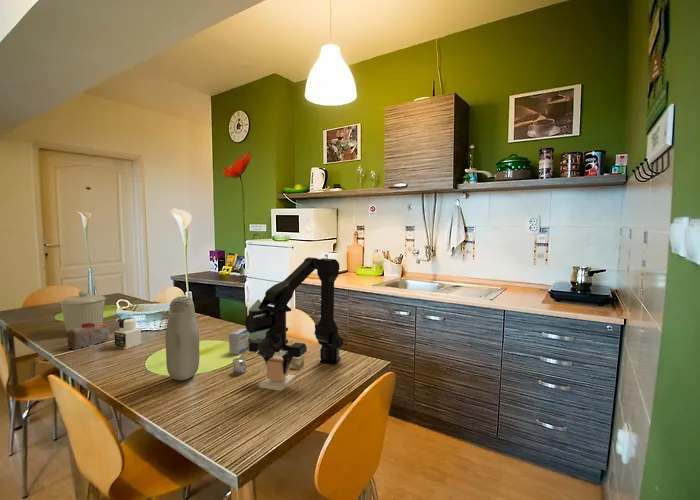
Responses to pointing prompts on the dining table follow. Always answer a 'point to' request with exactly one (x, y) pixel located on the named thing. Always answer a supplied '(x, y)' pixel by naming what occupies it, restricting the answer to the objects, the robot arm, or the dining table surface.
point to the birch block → (297, 362)
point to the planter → (261, 333)
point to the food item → (87, 335)
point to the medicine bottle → (127, 334)
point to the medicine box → (238, 341)
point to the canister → (82, 310)
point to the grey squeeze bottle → (182, 339)
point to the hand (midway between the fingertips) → (277, 372)
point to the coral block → (275, 368)
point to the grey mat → (277, 383)
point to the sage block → (279, 353)
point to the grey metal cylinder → (239, 366)
